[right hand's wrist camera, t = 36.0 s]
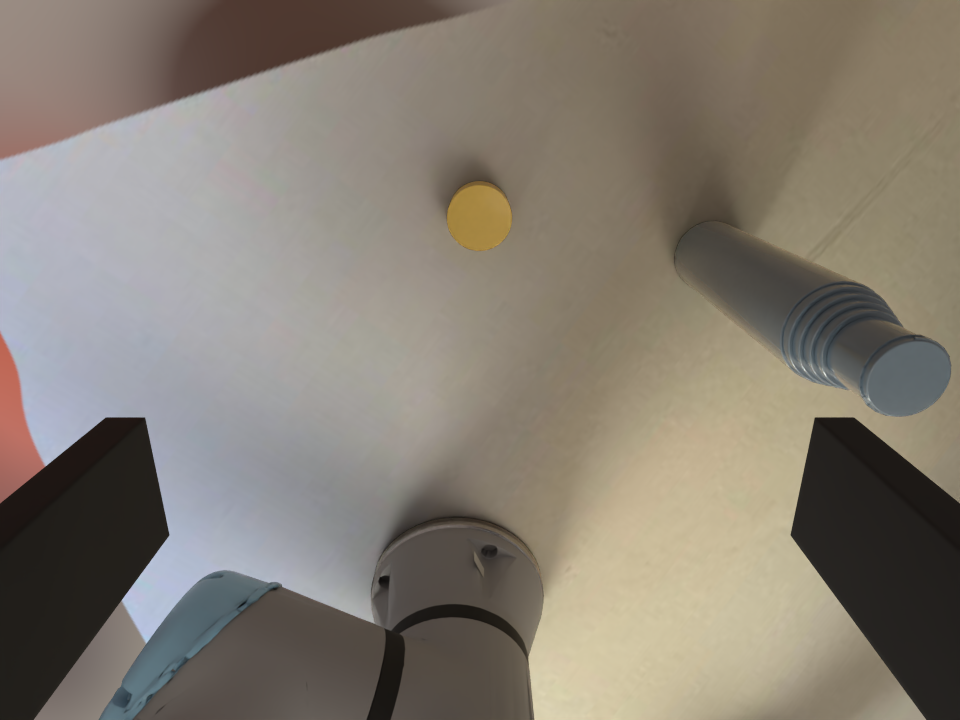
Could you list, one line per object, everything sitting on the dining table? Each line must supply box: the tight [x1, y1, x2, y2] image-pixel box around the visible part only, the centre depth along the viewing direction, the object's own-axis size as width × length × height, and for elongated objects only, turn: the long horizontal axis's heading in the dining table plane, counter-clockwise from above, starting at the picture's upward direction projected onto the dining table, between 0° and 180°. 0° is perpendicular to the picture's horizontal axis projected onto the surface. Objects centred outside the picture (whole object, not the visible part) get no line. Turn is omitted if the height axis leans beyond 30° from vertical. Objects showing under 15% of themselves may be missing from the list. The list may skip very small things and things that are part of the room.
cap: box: [447, 181, 512, 251], centre depth 45 cm, size 4×4×3 cm
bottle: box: [675, 221, 951, 417], centre depth 36 cm, size 5×5×24 cm
